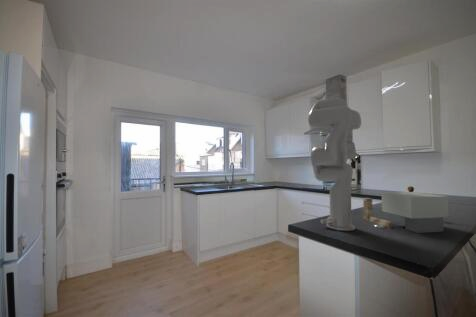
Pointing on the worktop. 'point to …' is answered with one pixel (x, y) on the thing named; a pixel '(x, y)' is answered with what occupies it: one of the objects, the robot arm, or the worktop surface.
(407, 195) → the grey block
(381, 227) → the grey shiny disc
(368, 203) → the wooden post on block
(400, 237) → the worktop surface
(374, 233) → the worktop surface
